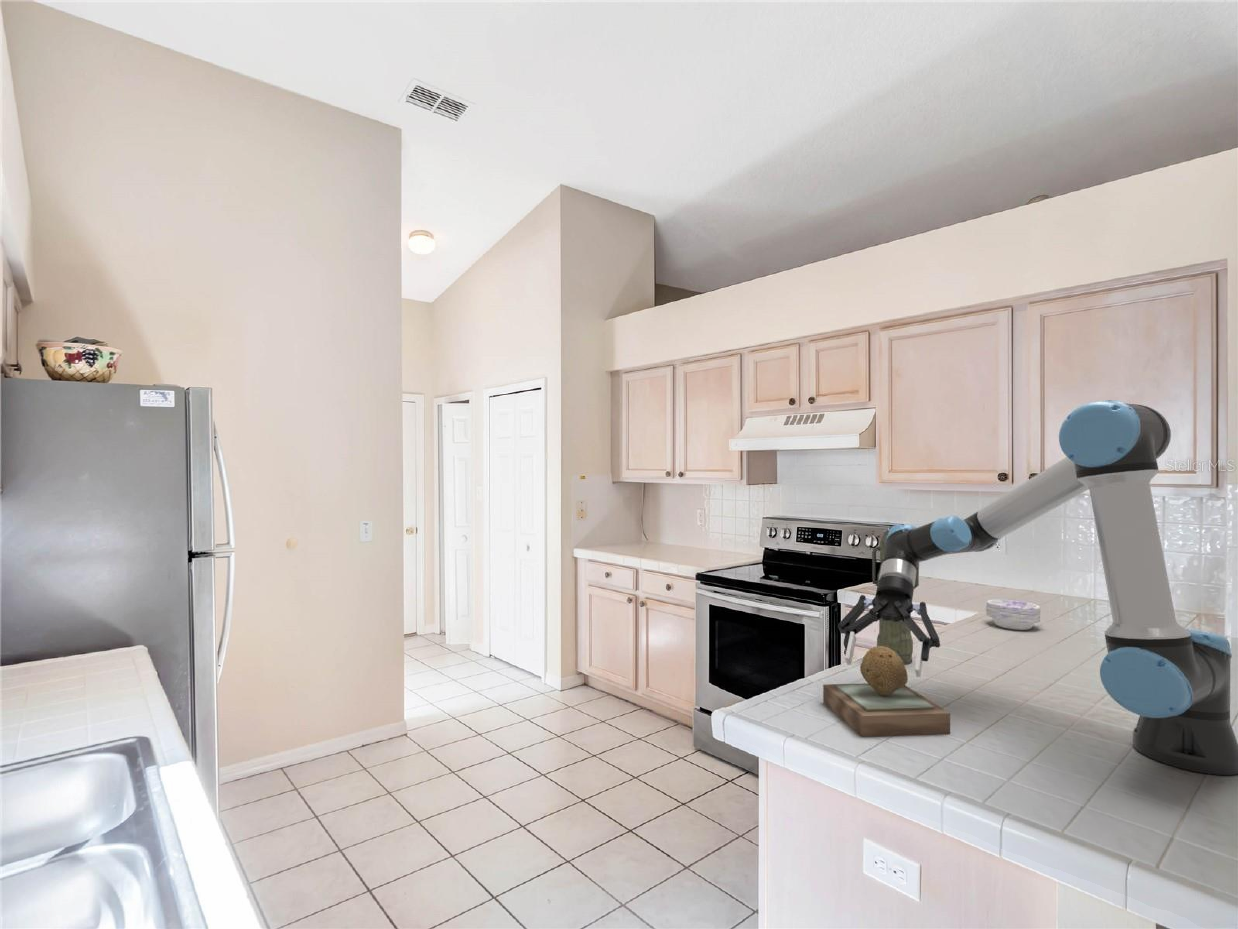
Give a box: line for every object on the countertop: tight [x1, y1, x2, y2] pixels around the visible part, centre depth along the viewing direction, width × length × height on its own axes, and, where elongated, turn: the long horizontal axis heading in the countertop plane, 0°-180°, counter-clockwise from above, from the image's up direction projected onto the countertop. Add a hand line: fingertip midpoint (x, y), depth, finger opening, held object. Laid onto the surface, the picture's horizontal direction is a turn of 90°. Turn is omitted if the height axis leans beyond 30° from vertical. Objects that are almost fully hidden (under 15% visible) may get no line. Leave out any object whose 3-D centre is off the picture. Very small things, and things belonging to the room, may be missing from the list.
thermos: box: [871, 529, 920, 666], centre depth 173 cm, size 9×12×35 cm
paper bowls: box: [985, 599, 1041, 631], centre depth 211 cm, size 15×15×8 cm
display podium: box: [822, 682, 951, 738], centre depth 133 cm, size 18×18×4 cm
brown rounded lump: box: [859, 645, 909, 696], centre depth 134 cm, size 9×9×10 cm
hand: (881, 667), depth 132 cm, fingers open, 13 cm apart
